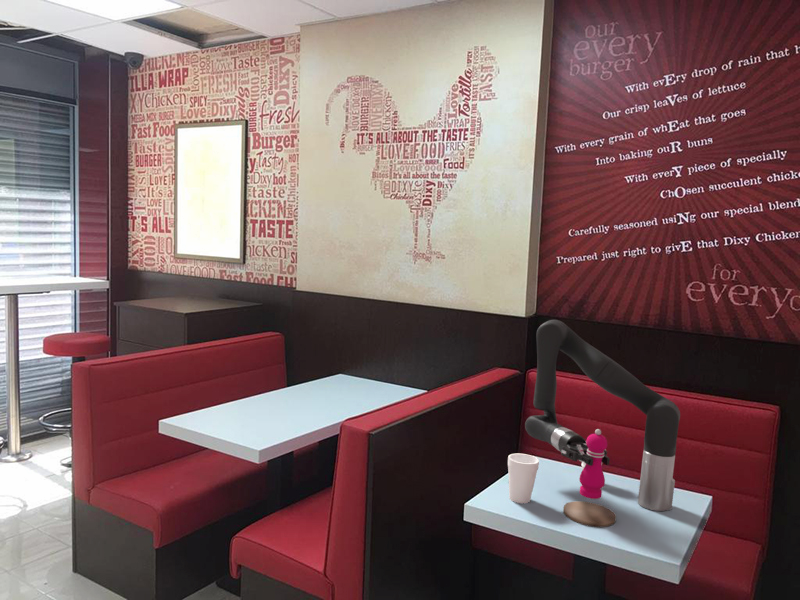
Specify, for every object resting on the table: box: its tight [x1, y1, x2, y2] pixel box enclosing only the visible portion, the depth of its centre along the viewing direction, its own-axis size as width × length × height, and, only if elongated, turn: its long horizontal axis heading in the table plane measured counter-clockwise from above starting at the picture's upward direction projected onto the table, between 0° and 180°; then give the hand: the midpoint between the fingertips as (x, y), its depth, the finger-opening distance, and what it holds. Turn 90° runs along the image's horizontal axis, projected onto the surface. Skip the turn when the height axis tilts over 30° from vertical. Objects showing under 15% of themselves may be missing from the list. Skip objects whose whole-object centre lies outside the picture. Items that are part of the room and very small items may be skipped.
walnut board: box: [562, 500, 617, 528], centre depth 200 cm, size 15×15×1 cm
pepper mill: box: [579, 428, 608, 500], centre depth 198 cm, size 7×7×20 cm
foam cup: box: [507, 452, 540, 504], centre depth 207 cm, size 10×9×13 cm
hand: (600, 462), depth 195 cm, fingers closed on pepper mill, 5 cm apart
